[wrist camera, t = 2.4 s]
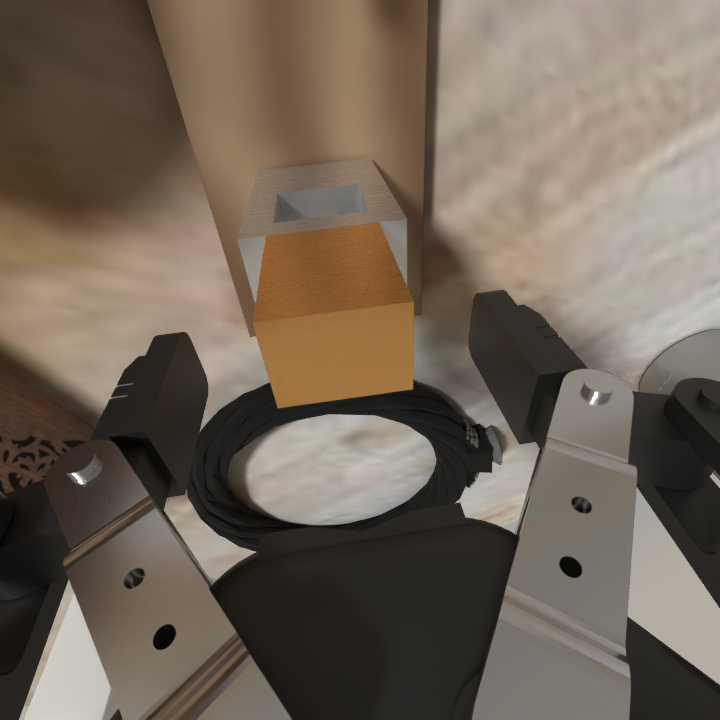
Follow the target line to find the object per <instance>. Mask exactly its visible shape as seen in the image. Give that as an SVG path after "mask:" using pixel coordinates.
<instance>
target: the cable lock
mask: <svg viewBox="0 0 720 720" xmlns="http://www.w3.org/2000/svg"><path fill="white" fill-rule="evenodd" d="M326 414H346V415H376V416H380V417H383V418H387V419H390V420H393V421H397V422H400V423H403V424H405V425H408V426H410V427H411V428H413V429H414V430H416V431H417V432H419V433H420V434H422V435H423V436H425V437H426V438H427V439H428V440H429V441H430V443H431V444H432V446H433V448H434V451H435V455H436V458H437V460H436V466H435V469H434V472H433V474H432V476H431V477H430V479H429V481H428V483H427V484H426V485H425V486H424V487H423V488H422V489H421V490H420V491H419V492H418V493H417V494H416V495H415V496H413V497H412V498H411V499H410V500H409V501H407V502H405V503H403V504H402V505H400V506H398V507H396V508H394V509H392V510H391V511H389V512H387V513H385V514H383V515H381V516H377V517H373V518H370V519H366V520H363V521H359V522H356V523H353V524H349V525H334V526H321V527H317V528H328V529H339V530H350V531H365V530H368V529H371V528H373V527H375V526H377V525H380V524H382V523H384V522H387V521H389V520H391V519H393V518H396V517H398V516H400V515H403V514H405V513H407V512H409V511H412V510H418V509H424V508H430V507H436V506H442V505H449V504H454V503H455V502H456V501H457V500H459V499H460V497H461V495H462V493H463V491H464V488H465V486H467V487H469V488H470V487H471V484H472V485H473V484H474V483H475V481H476V479H475V477H476V478H478V475H479V472H490V473H492V462H495V463H497V464H499V465H501V463H502V453H503V449H502V446H501V443H500V441H499V438H498V435H497V433H496V432H495V431H494V430H493V429H492V428H491V427H489V426H488V427H487V428H486V429H485V431H484V432H483V430H482V428H481V425H480V424H477V425H474V426H472V425H471V424H470V423H469V422H468V421H466V420H465V419H464V418H463V417H462V416H460V415H459V414H458V413H456V412H455V411H454V410H453V409H452V408H451V406H450V405H449V404H448V403H447V402H446V401H445V400H444V399H443V398H441V397H440V396H439V395H437V394H436V393H434V392H433V391H430V390H427V389H424V388H420V387H419V386H417V385H416V384H414V383H413V389H412V390H404V391H397V392H390V393H383V394H376V395H369V396H362V397H355V398H348V399H341V400H333V401H326V402H319V403H312V404H305V405H298V406H291V407H284V408H277V404H276V401H275V397H274V394H273V391H272V387H271V384H270V383H267V384H265V385H263V386H261V387H259V388H257V389H255V390H253V391H250V392H247V393H244V394H243V395H241V396H240V397H238V398H237V399H235V400H234V401H232V402H231V403H229V404H228V405H226V406H225V407H223V408H222V409H220V410H219V411H218V412H217V413H216V414H215V415H214V416H213V417H212V418H211V420H210V421H209V422H208V423H207V424H206V425H205V426H204V428H203V429H202V430H201V432H200V433H199V436H198V440H197V444H196V449H195V453H194V457H193V461H192V466H191V470H190V474H189V478H188V483H187V493H188V498H189V500H190V502H191V503H192V505H193V507H194V508H195V510H196V512H197V513H198V515H199V517H200V518H201V520H203V521H204V522H205V523H206V524H207V525H208V526H209V527H210V528H212V529H213V530H214V531H215V532H216V533H217V534H218V535H220V536H222V537H225V538H226V539H228V540H229V541H231V542H233V543H234V544H236V545H237V546H239V547H242V548H246V549H249V550H252V551H256V552H259V542H260V535H263V534H269V533H275V532H281V531H287V530H294V529H300V528H306V526H302V525H295V524H288V523H281V522H275V521H272V520H270V519H267V518H265V517H262V516H261V515H259V514H257V513H255V512H253V511H251V510H249V509H247V508H245V507H244V506H242V505H241V504H239V503H238V502H237V501H236V499H235V497H234V496H233V494H232V492H231V490H230V489H229V486H228V482H227V477H226V475H227V471H228V467H229V463H230V460H231V459H232V457H233V456H234V454H235V453H236V452H238V451H239V450H240V449H242V448H243V447H244V446H246V445H247V444H249V443H250V442H251V441H253V440H254V439H255V438H257V437H258V436H260V435H262V434H264V433H265V432H267V431H269V430H271V429H272V428H274V427H276V426H280V425H283V424H286V423H289V422H292V421H296V420H301V419H306V418H311V417H316V416H321V415H326Z"/></svg>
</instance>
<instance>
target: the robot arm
mask: <svg viewBox="0 0 720 720" xmlns="http://www.w3.org/2000/svg"><path fill="white" fill-rule="evenodd" d="M469 349H470V353H471V357H472V359H473V361H474V363H475V364H476V366H477V368H478V370H479V372H480V374H481V375H482V377H483V379H484V381H485V383H486V384H487V386H488V388H489V390H490V392H491V394H492V395H493V397H494V399H495V401H496V403H497V404H498V406H499V408H500V410H501V412H502V414H503V415H504V417H505V419H506V421H507V423H508V424H509V426H510V428H511V430H512V432H513V434H514V435H515V437H516V439H517V441H518V443H519V444H524V443H531V442H536V443H537V445H538V446H539V448H540V450H539V453H538V456H537V460H536V463H535V467H534V470H533V474H532V477H531V481H530V484H529V487H528V491H527V494H526V498H525V501H524V505H523V508H522V512H521V515H520V518H519V521H518V525H517V528H516V531H515V534H514V533H512V532H511V531H509V530H506V529H504V528H502V527H500V526H498V525H495V524H492V523H489V522H486V521H482V520H477V519H473V518H465V515H464V512H463V509H462V507H461V504H460V503H455V504H449V505H442V506H436V507H430V508H424V509H418V510H412V511H409V512H407V513H405V514H403V515H400V516H398V517H396V518H393V519H391V520H389V521H387V522H384V523H382V524H380V525H377V526H375V527H373V528H371V529H368V530H365V531H350V530H339V529H328V528H317V527H306V528H300V529H294V530H287V531H281V532H275V533H269V534H263V535H260V542H259V552H256V553H254V554H252V555H250V556H249V557H247V558H245V559H243V560H242V561H240V562H239V563H237V564H236V565H234V566H233V567H232V568H230V569H229V570H228V571H227V572H225V573H224V574H223V575H222V576H221V577H220V578H219V579H218V580H217V581H216V582H215V583H214V584H213V583H212V581H211V580H210V578H209V577H208V576H207V574H206V573H205V571H204V570H203V568H202V567H201V565H200V564H199V562H198V561H197V559H196V558H195V556H194V555H193V553H192V552H191V550H190V549H189V547H188V546H187V544H186V543H185V541H184V540H183V538H182V537H181V535H180V534H179V532H178V531H177V529H176V528H175V526H174V525H173V523H172V522H171V520H170V519H169V517H168V516H167V514H166V513H165V511H164V507H165V503H166V499H167V497H173V496H180V495H185V491H186V487H187V483H188V478H189V474H190V470H191V466H192V461H193V457H194V453H195V449H196V444H197V440H198V436H199V431H200V427H201V423H202V419H203V414H204V410H205V406H206V401H207V397H208V382H207V377H206V374H205V372H204V369H203V367H202V365H201V362H200V360H199V358H198V355H197V353H196V351H195V348H194V346H193V344H192V341H191V339H190V337H189V335H188V334H187V333H186V332H179V333H172V334H164V335H157V336H155V337H154V338H153V340H152V343H151V345H150V347H149V349H148V351H147V354H146V356H139V357H138V358H136V359H135V360H134V361H133V362H132V363H131V364H130V365H129V366H128V367H127V368H126V369H125V370H124V372H123V374H122V376H121V378H120V380H119V382H118V384H117V386H118V387H116V388H115V390H114V392H113V394H112V396H111V397H112V399H111V400H109V402H108V404H107V406H106V408H105V410H104V412H103V414H102V416H101V418H100V420H99V422H98V424H97V426H96V428H95V430H94V432H93V434H92V436H91V438H90V440H89V442H85V443H83V444H80V445H78V446H76V447H74V448H72V449H71V450H69V451H67V452H66V453H65V454H63V455H62V456H61V457H60V458H59V459H57V460H56V461H55V463H54V464H53V465H52V466H51V467H50V469H49V470H48V472H47V474H46V477H45V479H43V480H41V481H38V482H36V483H33V484H30V485H28V486H25V487H23V488H20V489H17V490H15V491H12V492H10V493H7V494H3V493H2V492H1V491H0V720H19V718H20V715H21V712H22V709H23V707H24V704H25V701H26V698H27V695H28V693H29V690H30V687H31V684H32V681H33V678H34V676H35V673H36V670H37V667H38V664H39V661H40V659H41V656H42V653H43V650H44V647H45V644H46V642H47V639H48V636H49V633H50V630H51V627H52V625H53V622H54V619H55V616H56V613H57V610H58V608H59V605H60V602H61V599H62V596H63V594H64V591H65V588H66V585H67V582H68V579H69V580H70V583H71V586H72V588H73V591H74V593H75V596H76V599H77V601H78V604H79V606H80V609H81V612H82V614H83V617H84V619H85V622H86V625H87V627H88V630H89V632H90V635H91V638H92V640H93V643H94V645H95V648H96V650H97V653H98V656H99V658H100V661H101V663H102V666H103V669H104V671H105V674H106V676H107V679H108V682H109V684H110V687H111V689H112V692H113V695H114V697H115V700H116V702H117V705H118V709H117V711H116V712H115V713H114V715H113V716H112V717H111V719H110V720H720V685H719V684H718V683H716V682H715V681H714V680H712V679H711V678H710V677H708V676H707V675H706V674H704V673H703V672H702V671H700V670H699V669H698V668H696V667H695V666H694V665H692V664H691V663H689V662H688V661H687V660H685V659H684V658H683V657H681V656H680V655H679V654H677V653H676V652H675V651H673V650H672V649H671V648H669V647H668V646H667V645H665V644H664V643H663V642H661V641H660V640H658V639H657V638H656V637H655V636H653V635H652V634H650V633H649V632H648V631H646V630H645V629H644V628H642V627H641V626H640V625H638V624H637V623H636V622H634V621H633V620H632V619H630V618H629V617H628V616H627V613H628V599H629V585H630V571H631V557H632V543H633V542H632V541H633V528H634V515H635V514H634V513H635V499H636V486H637V488H638V489H639V490H640V492H641V493H642V495H643V496H644V498H645V499H646V501H647V502H648V504H649V505H650V506H651V508H652V509H653V511H654V512H655V514H656V515H657V517H658V518H659V520H660V521H661V523H662V524H663V526H664V527H665V529H666V530H667V531H668V533H669V534H670V536H671V537H672V539H673V540H674V542H675V543H676V545H677V546H678V548H679V549H680V550H681V552H682V553H683V555H684V556H685V558H686V559H687V561H688V562H689V564H690V565H691V567H692V568H693V570H694V571H695V573H696V574H697V575H698V577H699V578H700V580H701V581H702V583H703V584H704V586H705V587H706V589H707V590H708V591H709V593H710V594H711V596H712V597H713V599H714V600H715V602H716V603H717V605H718V606H719V608H720V488H719V487H718V486H717V485H716V484H715V483H714V481H713V480H712V479H711V478H710V475H711V474H712V473H713V474H714V475H715V476H716V477H717V478H718V479H719V480H720V329H715V330H708V331H705V332H701V333H698V334H695V335H693V336H690V337H688V338H686V339H684V340H682V341H680V342H678V343H677V344H675V345H673V346H672V347H670V348H669V349H668V350H666V351H665V352H663V353H662V354H661V355H660V356H659V357H658V358H657V359H656V360H655V361H654V362H653V363H652V364H651V365H650V366H649V368H648V369H647V370H646V372H645V374H644V375H643V377H642V380H641V382H640V389H639V391H640V392H634V391H631V389H630V388H629V386H628V385H627V384H626V383H625V382H623V381H622V380H621V379H619V378H618V377H616V376H614V375H612V374H609V373H607V372H604V371H600V370H595V369H588V368H587V367H586V366H585V365H584V364H583V362H582V361H581V360H580V359H579V358H578V357H577V356H576V354H575V353H574V352H573V351H572V350H571V349H570V348H569V346H568V345H567V344H566V343H565V342H564V341H563V340H562V338H561V337H558V334H557V333H556V332H555V330H554V329H553V328H552V327H551V328H550V325H549V324H548V323H547V321H546V320H545V319H544V318H543V317H542V316H541V315H540V314H539V313H538V312H536V311H534V310H532V309H531V308H529V307H527V306H525V305H518V306H517V304H516V303H515V302H514V301H513V299H512V298H511V297H510V296H509V295H508V293H507V292H506V291H504V290H498V291H490V292H483V293H477V294H476V295H475V297H474V300H473V307H472V315H471V324H470V332H469Z"/></svg>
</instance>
